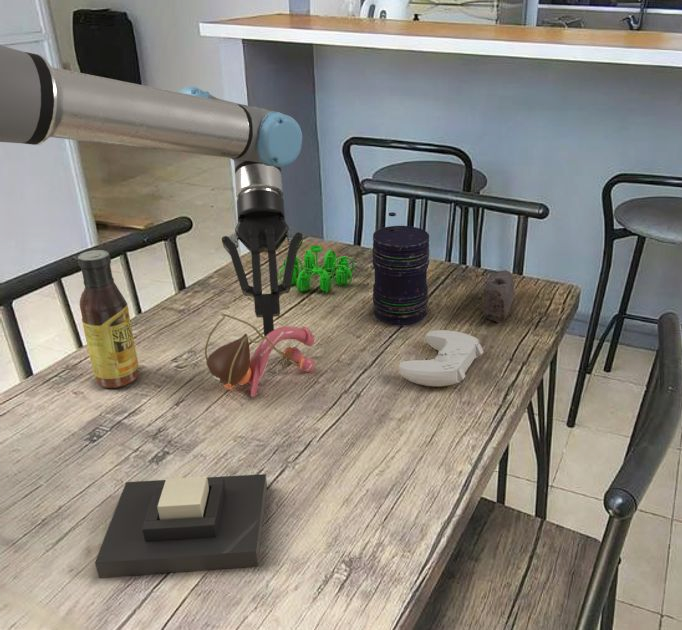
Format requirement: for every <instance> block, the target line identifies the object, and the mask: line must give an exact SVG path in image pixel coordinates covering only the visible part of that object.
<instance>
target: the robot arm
mask: <svg viewBox="0 0 682 630" xmlns="http://www.w3.org/2000/svg"><path fill="white" fill-rule="evenodd" d="M49 138H54V139H63V140H71V141H78V142H79V141H80V142H87V143H97V144H105V145H114V146H122V147H130V148H131V147H132V148H140V149H148V150H158V151H167V152H174V153H183V154H192V155H201V156H209V157H215V158H216V157H218V158H225V159H226V158H227V159H230V160H232V161H233V162H234V163H233V165H234V180H235V194H236V195H235V196H236V198H237V199H236V212H237V223H236V226H235V228H234V232H233V233H232V234H230V235H229V236H227V235H224V236H222V238H221V243H222V247H223V248H224V249H225V251H226V252H227V253H228V255H229V256H230V259H231V263H232V264H233V265H232V266H233V268H234V271H235V273H236V277H237V280H238V283H239V286H240V290H241V292H242V295H243V296H244V297H251V298H253V299H254V300H253V301H254V302H253V303H254V305H253V306H254V314H255V317H256V318H258V319H259V318H262V325H263V327H262V328H263V336H266V335H267V334H268V333H270V332H271V331H273V330H275V328H274V327H275V325H274V318H275V317H280V315H281V304H280V297H281V296H283V295H285V294H289V293H290V292H291V288H292V285H291V282H292V277H293V271H294V266H295V260H296V257H297V254H298V251H299V249H300V248H301V246H302V245H303V233H302V232H295V231H292V230H290V227H289V225H288V224H287V222H286V215H285V202H284V201H285V200H284V198H283V196H284V190H283V175H282V174H283V173H282V168H284V167H288V166H290V165H291V164H293V163H295V161H296V160H297V159H298V157H299V155H300V154H301V151H302V146H303V133H302V130H301V126H300V125H299V123H298V122H297V121H296V119H294V118H293V117H291V116H290V115H288V114H285V113H282V112H280V111H276V110H269V109H266V108H263V107H262V108H260V107H257V106H249V105H247V104H242V103H238V102H234V101H229V100H225V99H221V98H218V97H216V96H214V95H212V94H211V93H210V92H209V91H206V90H205V91H204V90H202V89H201V88H199V87H196V86H191V85H189V86H186V87H183V88H182V89H181V90H179V91H174V90H168V89H163V88H158V87H153V86H149V85H144V84H139V83H133V82H128V81H124V80H118V79H113V78H109V77H103V76H98V75H93V74H89V73H83V72H78V71H74V70H68V69H63V68H58V67H53V66H52V65H51V64H50V63H49V61H48V60H47V58H45V57H44V56H43V55H40V54H38V53H32V52H28V51H23V50H19V49H15V48H11V47H8V46H5V45H2V44H0V143H11V144H25V145H31V146H32V145H33V146H39V145H42V144H44V143H45V142H46V141H47V140H48V139H49ZM286 239H287V245H288V250H287V256H286V258H287V259H286V261H285V265H286V266H285V269H284V270H283V277H282V281H283V282H281V284H279V274H278V265H277V264H278V262H277V252H276V251H278V250H279V248H280V247H281V245H282V244H283V243H284V241H285V240H286ZM239 241H240V242H241V243H242V244H243V246H244V247H245V248H246V250H248V251H249V252H250V255H251V272H252V285H249V281H248V279H247V275H246V272H245V269H244V266H243V264H242V260H241V256H240V254H239V251H238V248H239ZM262 253H267V259H268V261H267V262H268V273H269V275H268V276H269V286H270V288H269V289H270V293H263V285H262V267H261V254H262Z"/></svg>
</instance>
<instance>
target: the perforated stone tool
mask: <svg viewBox="0 0 682 630" xmlns="http://www.w3.org/2000/svg"><path fill="white" fill-rule="evenodd" d="M483 292H484V300H483V301H482V303H481V304H480V308H481V311H482V313H483V317H484V318H486V319H488V320H489V321H495V322H497V323H501V322H504V320H505V319H506V318H507V317H508V314H509V313H510V310H511V306H512V305H513V301H514V294H515V282H514V277H513V275H512V273H511V271H509V270H506V269H503V270H502V269H501V270H499V271H498V272H497V271H496V273H495V274H493V275H492V277H491V278H489V280H488V281H487V283H486V285H485V287H484V288H483Z"/></svg>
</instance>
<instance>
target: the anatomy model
mask: <svg viewBox="0 0 682 630" xmlns="http://www.w3.org/2000/svg"><path fill="white" fill-rule="evenodd" d="M220 316H221V317H222V318H221V319H220V320H219V321H217V323H216V324H214V325H215V326H214V327H213V328H212V330H211V331H210V333H209V334H208V337H207V339H206V342H205V347H204V357H205V360H206V366H207V368H208V370H209V374H210V375H211V376H212V377H213V379H215V380H217V381H218V382H219V383H221V384H223V388H224V389H227V390H233V388H234V387H235V386H236V385H237V384H238V385H239V386H243V385H246V384H247V383H248V384H249V385H250V386H251V389H250V397H251V398H253V397H256V396H257V394H258V389H259V383H260V381H261V379H262V378H263V376H264V374H265V371H266V368H267V365H268V362H269V358H270V356H271V352H272V351H273V350H274V351H275V352H277V353H278V355H280V356H281V359H279V360H278V361H277V363H278V364H280V365H281V367H282V368H285V367H286V365H287V364H288V363H291V364H292V365H294V366H296V367H297V368H298V369H299V370H301V371H304V372H307V373H309V372H310V373H311V372H313V371H314V370H315V367H316V364H315V362H314V360H313V359H311V358H310V357H307V356H306V357H304V356H303V352H302V350H300V349H299V348H298V347H295V346H288V347H286V348H285V350H284V352H283V351H281V350H279V349H278V348H277V347H276V346H277V345H278V344H279V343H280V342H281V341H283V340H293V341H298V342H299V343H301V344H303V345H305V346H307V347H312V346H313V345H314V344H315V341H316V339H315V336H314V335H313V333H312V331H310V329H309V328H308V327H307V326H301V327H296V326H291V325H287V326H281V327H277V328H274V330H273V331H271V332H270V333H268V334H267V335H266V336H264V335H263V334H262V333H261V332H260V331H259V330H258V329H257V328H256V326H255V325H253V324H251V323H250V322H248V321H246V320H243V319H240V318H237V317H236V316H233V315H230V314H226V313H220ZM226 317H228V318H230V319H233V320H236V321H238V322H240V323H243V324H245V325H247V326H249V327H251V328H252V329H253V330H254V331H255V332H256V333H257V334H258V335H259V336H260V338H259V339H258V340H254V339H252V338H251V337H250V336H248V334H247V333H244V334H243V335H242V336H241V337H239V338H238V339H235V340H233V341H231V342H229V343H226V344H224V345H221V346H220V347H218V348H217V349H216V350H214V351H213V352H212V353H210V354H209V355H208V345H209V342H210V339H211V337H212V335H213V333H214V331H216V329H217V328H218V326H219V325H220V323H222V322H223V321H224V320H225V319H226ZM250 342H252V343H253V344H259V345H258V346H257V347H256V349H255V350H254V352H253V354H252V355H251V350H250Z"/></svg>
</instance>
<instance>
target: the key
mask: <svg viewBox="0 0 682 630" xmlns="http://www.w3.org/2000/svg"><path fill="white" fill-rule="evenodd" d="M207 477H208V476H207V475H204V476H186V477H184V476H183V477H169V478H168V477H167V478H165V480H166V481H165V484H164V487H163V490H162V494H161V497H160V500H159V503H158V506H157V507H158V512H159V517H160V520H172V519H187V518H203V515H204V511H205V506H206V502H207V497H208V493H209V485H208V479H207Z"/></svg>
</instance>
